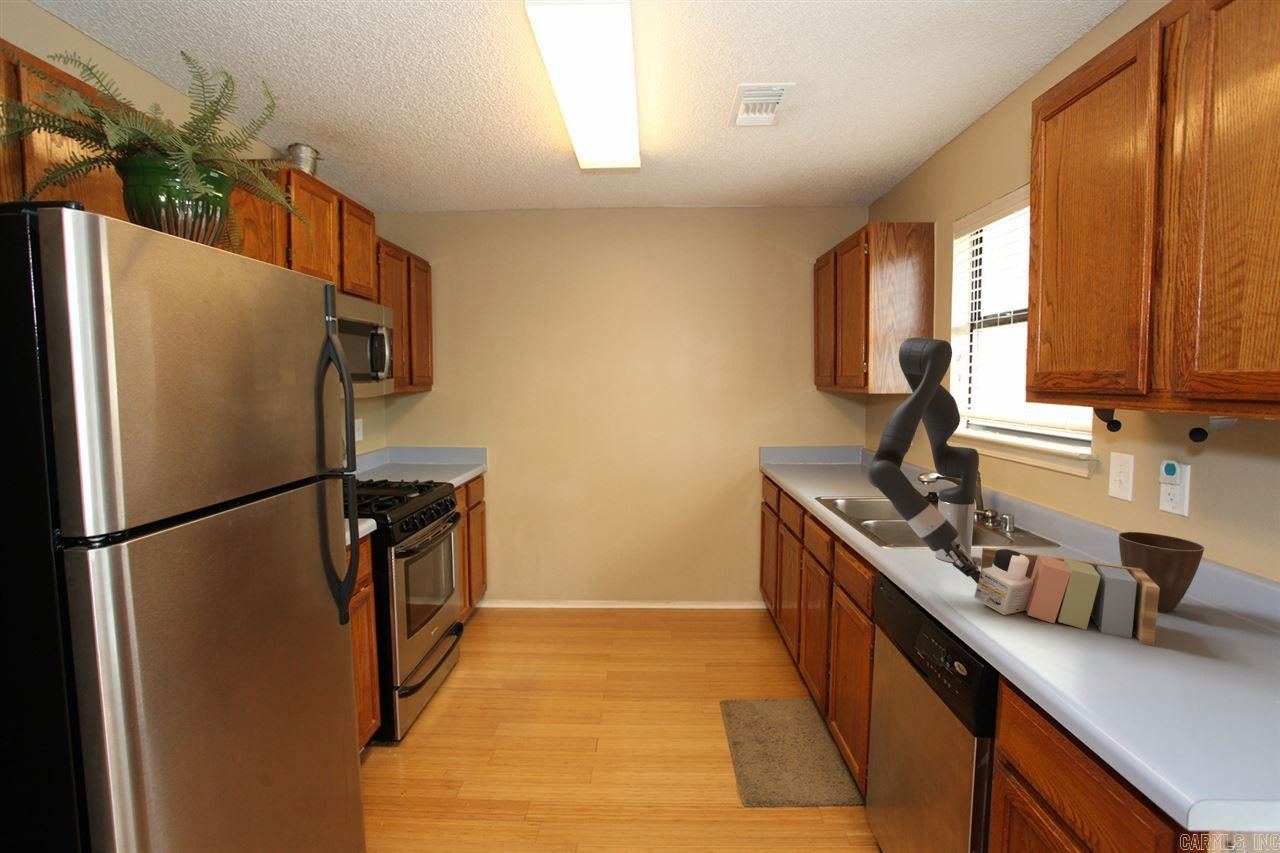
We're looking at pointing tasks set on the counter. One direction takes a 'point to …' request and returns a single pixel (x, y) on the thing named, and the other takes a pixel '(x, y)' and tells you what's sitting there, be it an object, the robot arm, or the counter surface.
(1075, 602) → the book
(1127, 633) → the book
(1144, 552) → the plant pot
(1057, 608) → the book
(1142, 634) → the wooden book rack
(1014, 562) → the container
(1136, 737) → the counter surface
